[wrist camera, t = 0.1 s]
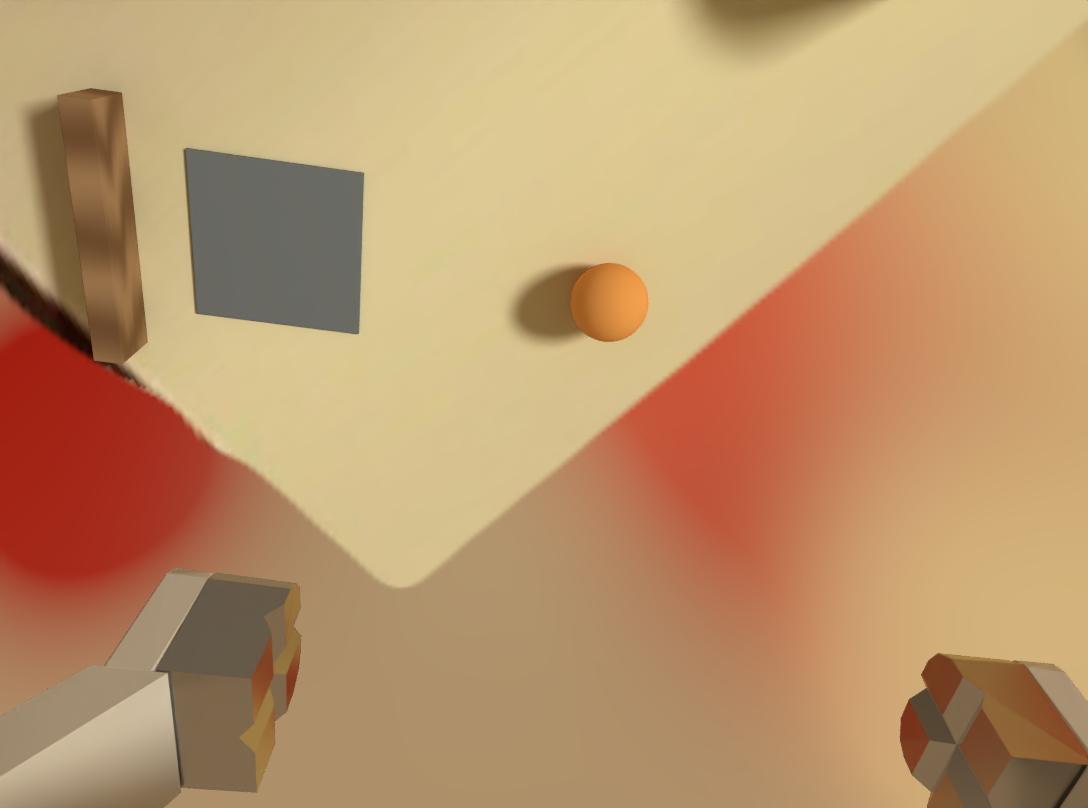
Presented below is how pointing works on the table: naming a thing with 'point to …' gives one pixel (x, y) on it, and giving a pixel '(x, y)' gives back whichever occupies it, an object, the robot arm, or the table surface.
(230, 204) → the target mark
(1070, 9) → the table surface
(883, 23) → the table surface
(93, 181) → the stopper wall
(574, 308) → the ball
